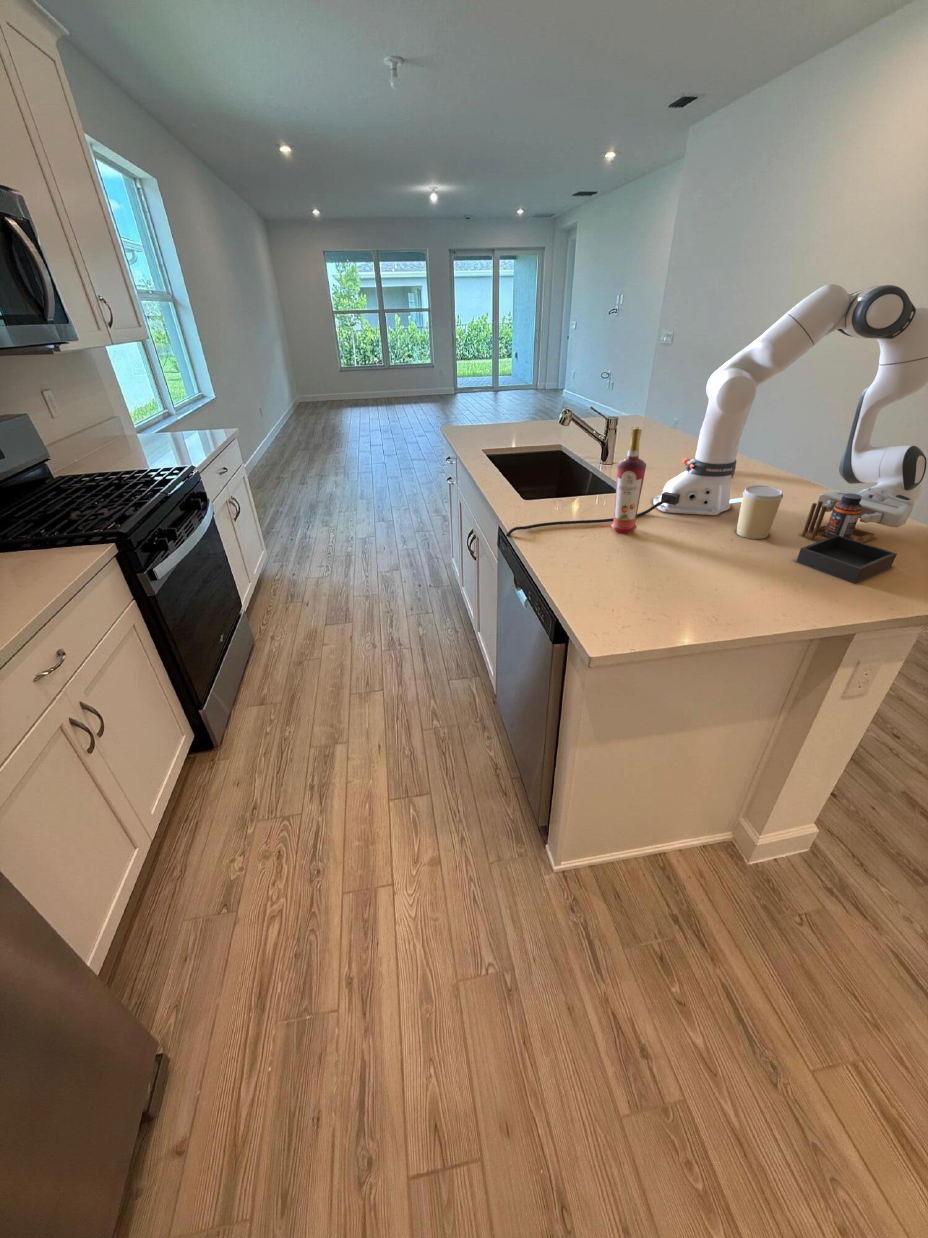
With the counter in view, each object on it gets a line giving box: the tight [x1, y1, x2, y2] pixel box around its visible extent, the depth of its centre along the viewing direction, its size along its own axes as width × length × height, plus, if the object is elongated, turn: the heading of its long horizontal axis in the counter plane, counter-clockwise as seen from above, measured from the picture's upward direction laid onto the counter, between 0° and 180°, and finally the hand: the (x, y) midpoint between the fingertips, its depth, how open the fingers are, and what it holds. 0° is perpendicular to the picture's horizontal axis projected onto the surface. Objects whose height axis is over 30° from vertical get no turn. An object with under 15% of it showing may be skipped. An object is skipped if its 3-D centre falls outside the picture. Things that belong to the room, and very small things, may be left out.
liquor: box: [611, 426, 647, 535], centre depth 137 cm, size 7×7×28 cm
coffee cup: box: [736, 485, 784, 540], centre depth 135 cm, size 9×9×12 cm
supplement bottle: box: [824, 492, 862, 539], centre depth 131 cm, size 6×6×11 cm
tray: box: [795, 535, 898, 584], centre depth 120 cm, size 15×14×4 cm
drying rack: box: [801, 501, 875, 543], centre depth 132 cm, size 13×11×9 cm
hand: (843, 513), depth 131 cm, fingers open, 8 cm apart
